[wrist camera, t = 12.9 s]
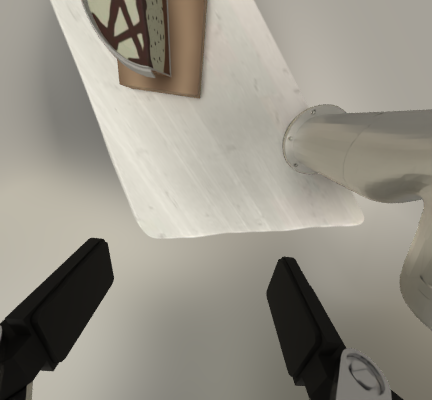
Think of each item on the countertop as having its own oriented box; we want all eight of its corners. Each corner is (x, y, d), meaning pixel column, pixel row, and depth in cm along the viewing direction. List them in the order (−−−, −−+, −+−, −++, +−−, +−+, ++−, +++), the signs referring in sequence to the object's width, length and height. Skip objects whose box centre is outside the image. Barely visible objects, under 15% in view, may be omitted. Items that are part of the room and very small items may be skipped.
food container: (116, -33, 21) (41, -146, 12) (166, -28, 21) (130, -137, 12) (131, 86, 26) (87, 69, 17) (171, 89, 27) (148, 73, 17)
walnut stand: (207, -5, 25) (205, -25, 21) (199, 98, 30) (197, 95, 27) (123, -19, 24) (107, -43, 21) (131, 88, 30) (119, 84, 26)
